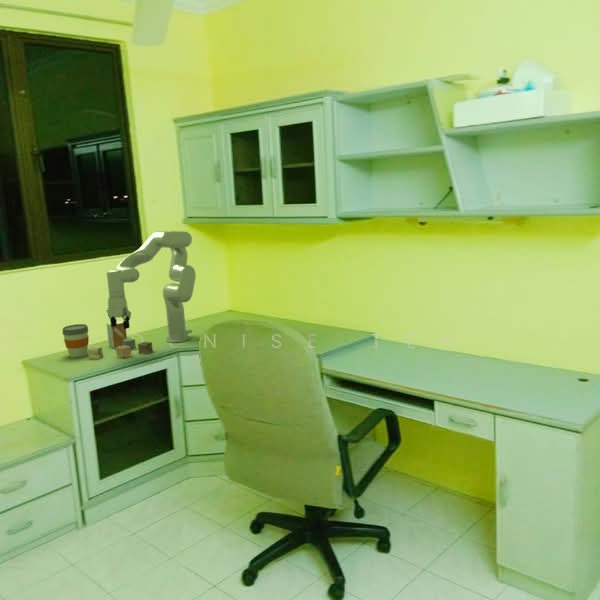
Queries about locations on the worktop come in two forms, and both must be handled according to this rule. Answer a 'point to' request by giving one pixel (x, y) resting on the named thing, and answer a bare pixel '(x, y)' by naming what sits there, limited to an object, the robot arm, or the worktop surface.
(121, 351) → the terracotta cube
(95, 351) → the pale oak cube
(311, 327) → the worktop surface
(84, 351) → the reusable coffee cup
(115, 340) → the small box
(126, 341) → the slate grey cube
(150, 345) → the walnut cube
